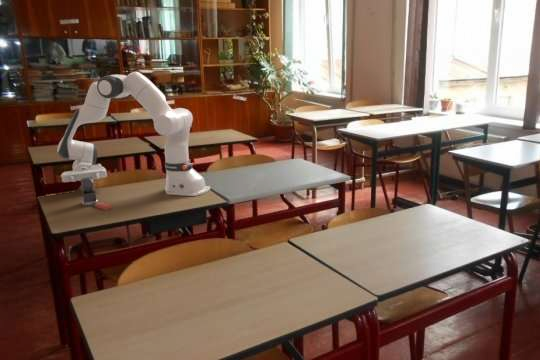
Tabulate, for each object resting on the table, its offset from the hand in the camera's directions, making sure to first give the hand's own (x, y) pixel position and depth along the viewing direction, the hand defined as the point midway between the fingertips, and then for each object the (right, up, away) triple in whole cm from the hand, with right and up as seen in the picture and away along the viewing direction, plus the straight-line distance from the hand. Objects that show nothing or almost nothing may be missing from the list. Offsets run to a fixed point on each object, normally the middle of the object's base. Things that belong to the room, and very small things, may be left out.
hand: (85, 178), depth 222 cm
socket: (+5, -10, -9) cm, 14 cm away
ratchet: (+10, -12, -11) cm, 19 cm away
